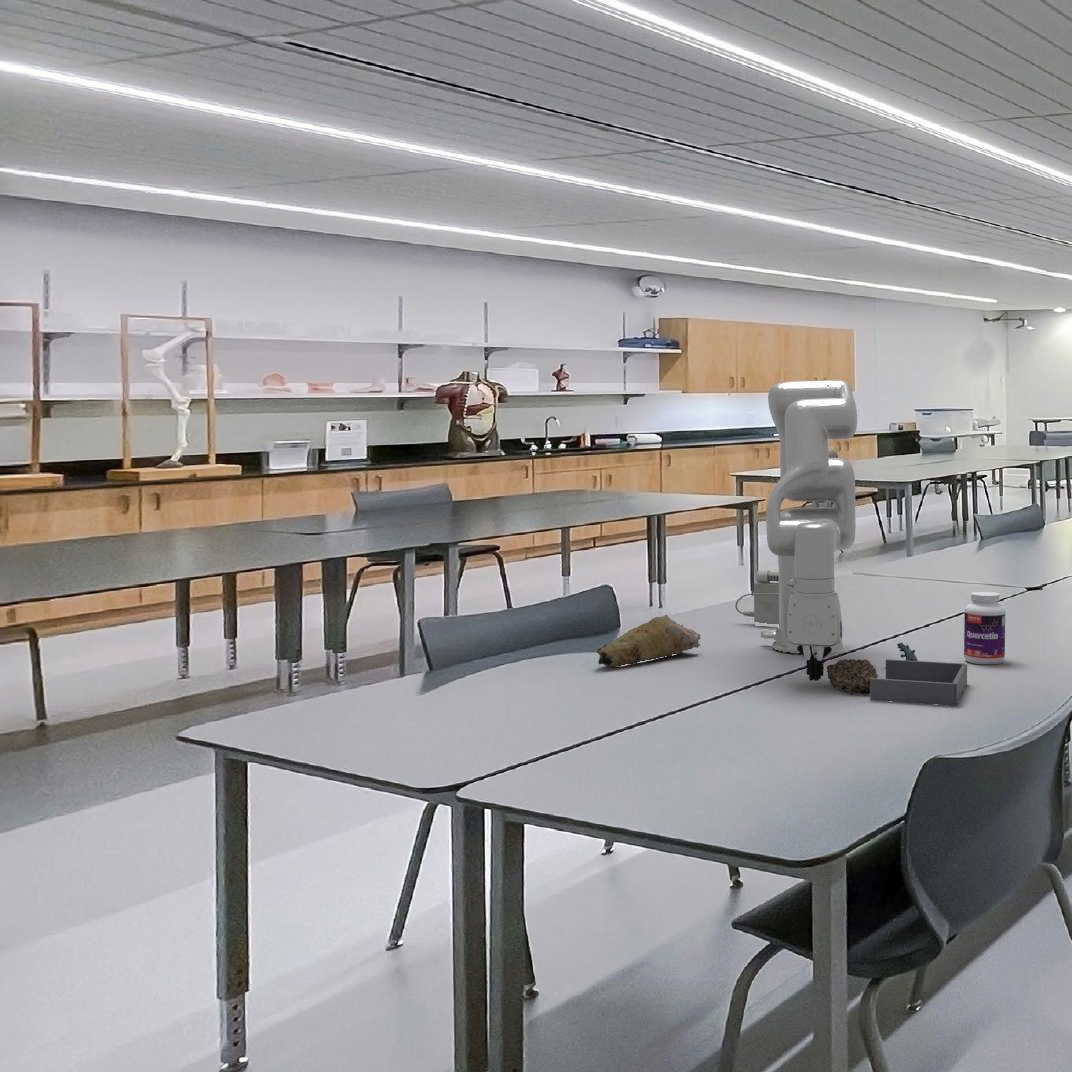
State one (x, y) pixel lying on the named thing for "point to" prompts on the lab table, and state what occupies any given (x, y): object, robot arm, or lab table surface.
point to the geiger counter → (765, 598)
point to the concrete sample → (852, 675)
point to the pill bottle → (984, 629)
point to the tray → (920, 682)
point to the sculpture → (907, 652)
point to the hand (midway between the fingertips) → (815, 679)
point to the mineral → (649, 642)
